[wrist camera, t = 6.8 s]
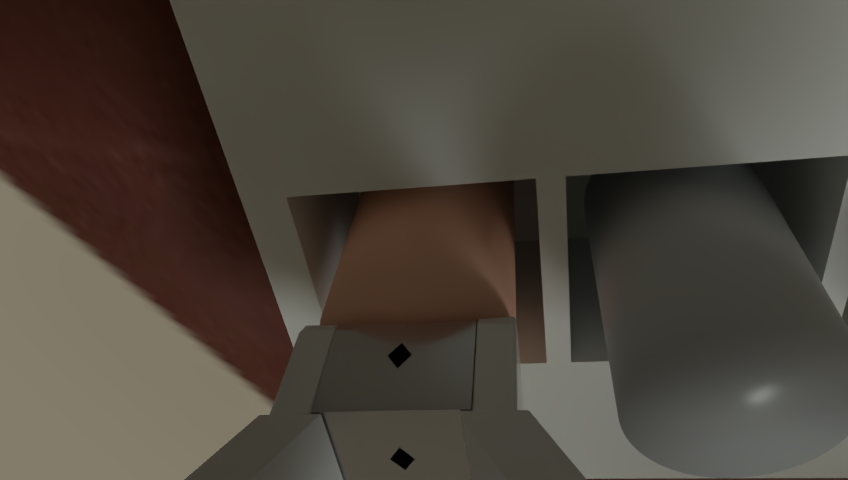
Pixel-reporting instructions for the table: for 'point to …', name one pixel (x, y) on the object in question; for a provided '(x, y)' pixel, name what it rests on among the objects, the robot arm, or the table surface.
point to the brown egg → (427, 256)
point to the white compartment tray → (526, 146)
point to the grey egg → (714, 323)
